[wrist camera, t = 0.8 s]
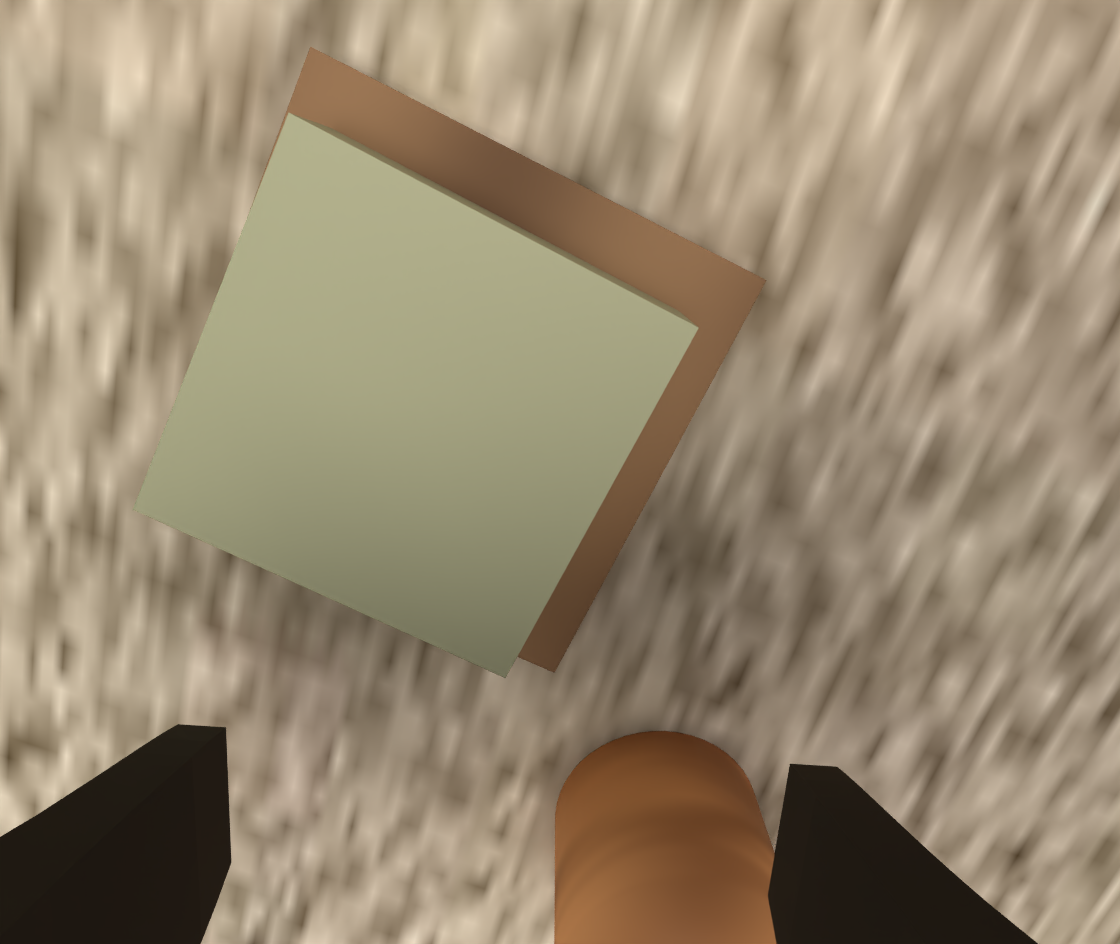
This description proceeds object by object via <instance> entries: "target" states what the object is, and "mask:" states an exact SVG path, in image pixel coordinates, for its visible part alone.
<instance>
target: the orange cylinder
mask: <svg viewBox="0 0 1120 944" xmlns="http://www.w3.org/2000/svg"><path fill="white" fill-rule="evenodd" d="M774 855H775V853H774V850H773V847H772V844H771V841H770V838H769V835H768V832H767V829H766V826H765V823H764V820H763V817H762V814H761V812H760V809H759V806H758V803H757V800H756V797H755V794H754V791H753V788H752V786H751V784H750V781H749V779H748V778H747V776H746V774H745V773H744V771H743V770H742V769H741V767H740V766H739V765H738V764H737V763H736V761H735V760H733V759H732V758H731V757H730V756H729V755H728V754H727V753H725V752H724V751H723V750H721V749H720V748H718V747H717V746H715V745H713V744H711V743H709V742H707V741H705V740H703V739H700V738H697V737H695V736H692V735H687V734H683V733H678V732H669V731H650V732H641V733H636V734H631V735H627V736H624V737H621V738H618V739H616V740H613V741H611V742H609V743H607V744H605V745H603V746H601V747H599V748H598V749H596V750H595V751H593V752H592V753H590V754H589V755H588V756H587V757H586V758H584V759H583V760H582V761H581V762H580V763H579V764H578V765H577V766H576V768H575V769H574V770H573V771H572V772H571V774H570V775H569V777H568V778H567V780H566V781H565V783H564V785H563V788H562V790H561V792H560V795H559V798H558V801H557V806H556V813H555V941H554V944H777V943H776V939H775V933H774V928H773V922H772V917H771V911H770V906H769V900H768V890H769V884H770V878H771V873H772V867H773V861H774Z"/></svg>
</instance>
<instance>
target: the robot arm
mask: <svg viewBox="0 0 1120 944" xmlns="http://www.w3.org/2000/svg"><path fill="white" fill-rule="evenodd" d="M230 865H231V842H230V818H229V793H228V768H227V743H226V727H210V726H195V725H179V724H178V725H176V726H174V727H173V728H171V729H169V730H167V731H166V732H164V733H162V734H161V735H159V736H157V737H156V738H154V739H153V740H151V741H150V742H148V743H147V744H145V745H143V746H142V747H140V748H139V749H137V750H136V751H134V752H133V753H131V754H130V755H128V756H127V757H125V758H124V759H122V760H121V761H119V762H118V763H116V764H115V765H113V766H112V767H110V768H109V769H107V770H106V771H104V772H103V773H101V774H100V775H98V776H97V777H95V778H93V779H92V780H90V781H89V782H87V783H86V784H84V785H83V786H81V787H80V788H78V789H76V790H75V791H73V792H72V793H70V794H69V795H67V796H66V797H64V798H63V799H61V800H59V801H58V802H56V803H55V804H53V805H52V806H50V807H49V808H47V809H46V810H44V811H42V812H41V813H39V814H38V815H36V816H35V817H33V818H31V819H30V820H28V821H26V822H24V823H23V824H21V825H19V826H18V827H16V828H14V829H13V830H11V831H9V832H8V833H6V834H4V835H3V836H1V837H0V944H200V943H201V941H202V939H203V936H204V934H205V931H206V929H207V926H208V924H209V921H210V919H211V916H212V913H213V911H214V908H215V906H216V903H217V900H218V898H219V895H220V892H221V889H222V887H223V884H224V881H225V878H226V876H227V873H228V870H229V867H230ZM768 900H769V906H770V911H771V917H772V922H773V928H774V933H775V939H776V943H777V944H1038V943H1036V942H1035V941H1034V940H1033V939H1031V938H1030V937H1029V936H1028V935H1027V934H1025V933H1024V932H1023V931H1022V930H1020V929H1019V928H1018V927H1017V926H1015V925H1014V924H1013V923H1012V922H1011V921H1009V920H1008V919H1007V918H1006V917H1004V916H1003V915H1002V914H1001V913H1000V912H998V911H997V910H996V909H995V908H993V907H992V906H991V905H990V904H988V903H987V902H986V901H985V900H984V899H983V898H982V897H980V896H979V895H978V894H977V893H976V892H975V891H973V890H972V889H971V888H970V887H969V886H968V885H966V884H965V883H964V882H963V881H962V880H961V879H960V878H958V877H957V876H956V875H955V874H954V873H953V872H952V871H950V870H949V869H948V868H947V867H946V866H945V865H944V864H943V863H942V862H940V861H939V860H938V859H937V858H936V857H935V856H934V855H933V854H932V853H930V852H929V851H928V850H927V849H926V848H925V847H924V846H923V845H922V844H921V843H920V842H919V841H917V840H916V839H915V838H914V837H913V836H912V835H911V834H910V833H909V832H908V831H907V830H906V829H905V828H903V827H902V826H901V825H900V824H899V823H898V822H897V821H896V820H895V819H894V818H893V817H892V816H891V815H890V814H888V813H887V812H886V811H885V810H884V809H883V808H882V807H881V806H880V805H879V804H878V803H877V802H876V801H875V800H874V799H873V798H871V797H870V796H869V795H868V794H867V793H866V792H865V791H864V790H863V789H862V788H861V787H860V786H859V785H857V784H856V783H855V782H854V781H853V780H852V779H851V778H850V777H849V776H847V775H846V774H845V773H844V772H843V771H842V770H840V769H839V768H838V767H832V766H816V765H801V764H790V767H789V773H788V779H787V784H786V790H785V796H784V802H783V808H782V814H781V820H780V826H779V831H778V837H777V843H776V849H775V855H774V861H773V867H772V873H771V878H770V884H769V890H768Z"/></svg>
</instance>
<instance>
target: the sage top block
mask: <svg viewBox="0 0 1120 944" xmlns="http://www.w3.org/2000/svg"><path fill="white" fill-rule="evenodd" d="M697 330H698V327H697V326H696V325H695V324H694V323H693V322H691V321H690V320H689V319H688V318H687V317H685V316H684V315H683V314H682V313H681V312H680V311H678V310H676V309H674V308H672V307H671V306H669V305H667V304H665V303H663V302H661V301H659V300H657V299H655V298H653V297H652V296H650V295H648V294H646V293H644V292H642V291H640V290H638V289H636V288H634V287H633V286H631V285H629V284H627V283H625V282H623V281H621V280H619V279H617V278H615V277H613V276H612V275H610V274H608V273H606V272H604V271H602V270H600V269H598V268H596V267H594V266H593V265H591V264H589V263H587V262H585V261H583V260H581V259H579V258H577V257H575V256H574V255H572V254H570V253H568V252H566V251H564V250H562V249H560V248H558V247H556V246H555V245H553V244H551V243H549V242H547V241H545V240H543V239H541V238H539V237H537V236H536V235H534V234H532V233H530V232H528V231H526V230H524V229H522V228H520V227H518V226H517V225H515V224H513V223H511V222H509V221H507V220H505V219H503V218H501V217H499V216H498V215H496V214H494V213H492V212H490V211H488V210H486V209H484V208H482V207H480V206H479V205H477V204H475V203H473V202H471V201H469V200H467V199H465V198H463V197H461V196H459V195H458V194H456V193H454V192H452V191H450V190H448V189H446V188H444V187H442V186H440V185H439V184H437V183H435V182H433V181H431V180H429V179H427V178H425V177H423V176H421V175H420V174H418V173H416V172H414V171H412V170H410V169H408V168H406V167H404V166H402V165H401V164H399V163H397V162H395V161H393V160H391V159H389V158H387V157H385V156H383V155H382V154H380V153H378V152H376V151H374V150H372V149H370V148H368V147H366V146H364V145H363V144H361V143H359V142H357V141H355V140H353V139H351V138H349V137H347V136H345V135H344V134H342V133H340V132H338V131H336V130H334V129H332V128H330V127H327V126H324V125H322V124H319V123H316V122H313V121H311V120H308V119H305V118H302V117H300V116H297V115H294V114H291V113H288V115H287V118H286V120H285V123H284V126H283V128H282V131H281V133H280V136H279V138H278V141H277V143H276V146H275V148H274V151H273V154H272V156H271V159H270V161H269V164H268V166H267V169H266V171H265V174H264V176H263V179H262V182H261V184H260V187H259V189H258V192H257V194H256V197H255V199H254V202H253V205H252V207H251V210H250V212H249V215H248V217H247V220H246V222H245V225H244V227H243V230H242V233H241V235H240V238H239V240H238V243H237V245H236V248H235V250H234V253H233V255H232V258H231V261H230V263H229V266H228V268H227V271H226V273H225V276H224V278H223V281H222V284H221V286H220V289H219V291H218V294H217V296H216V299H215V301H214V304H213V306H212V309H211V312H210V314H209V317H208V319H207V322H206V324H205V327H204V329H203V332H202V334H201V337H200V340H199V342H198V345H197V347H196V350H195V352H194V355H193V357H192V360H191V363H190V365H189V368H188V370H187V373H186V375H185V378H184V380H183V383H182V385H181V388H180V391H179V393H178V396H177V398H176V401H175V403H174V406H173V408H172V411H171V413H170V416H169V419H168V421H167V424H166V426H165V429H164V431H163V434H162V436H161V439H160V441H159V444H158V447H157V449H156V452H155V454H154V457H153V459H152V462H151V464H150V467H149V470H148V472H147V475H146V477H145V480H144V482H143V485H142V487H141V490H140V492H139V495H138V498H137V500H136V503H135V505H134V508H133V510H135V511H137V512H139V513H141V514H144V515H146V516H148V517H150V518H152V519H155V520H157V521H159V522H161V523H164V524H166V525H168V526H170V527H172V528H175V529H177V530H179V531H181V532H183V533H186V534H188V535H190V536H192V537H194V538H197V539H199V540H201V541H203V542H206V543H208V544H210V545H212V546H214V547H217V548H219V549H221V550H223V551H225V552H228V553H230V554H232V555H234V556H236V557H239V558H241V559H243V560H245V561H248V562H250V563H252V564H254V565H256V566H259V567H261V568H263V569H265V570H267V571H270V572H272V573H274V574H276V575H278V576H281V577H283V578H285V579H287V580H290V581H292V582H294V583H296V584H298V585H301V586H303V587H305V588H307V589H309V590H312V591H314V592H316V593H318V594H320V595H323V596H325V597H327V598H329V599H332V600H334V601H336V602H338V603H340V604H343V605H345V606H347V607H349V608H351V609H354V610H356V611H358V612H360V613H362V614H365V615H367V616H369V617H371V618H374V619H376V620H378V621H380V622H382V623H385V624H387V625H389V626H391V627H393V628H396V629H398V630H400V631H402V632H404V633H407V634H409V635H411V636H413V637H416V638H418V639H420V640H422V641H424V642H427V643H429V644H431V645H433V646H435V647H438V648H440V649H442V650H444V651H446V652H449V653H451V654H453V655H455V656H458V657H460V658H462V659H464V660H466V661H469V662H471V663H473V664H475V665H477V666H480V667H482V668H484V669H486V670H488V671H491V672H493V673H495V674H497V675H500V676H502V677H504V678H506V676H507V674H508V673H509V671H510V669H511V667H512V665H513V663H514V662H515V660H516V658H517V656H518V654H519V653H520V651H521V649H522V647H523V645H524V644H525V642H526V640H527V638H528V636H529V634H530V633H531V631H532V629H533V627H534V625H535V624H536V622H537V620H538V618H539V616H540V615H541V613H542V611H543V609H544V607H545V605H546V604H547V602H548V600H549V598H550V596H551V595H552V593H553V591H554V589H555V587H556V586H557V584H558V582H559V580H560V578H561V577H562V575H563V573H564V571H565V569H566V567H567V566H568V564H569V562H570V560H571V558H572V557H573V555H574V553H575V551H576V549H577V548H578V546H579V544H580V542H581V540H582V538H583V537H584V535H585V533H586V531H587V529H588V528H589V526H590V524H591V522H592V520H593V519H594V517H595V515H596V513H597V511H598V509H599V508H600V506H601V504H602V502H603V500H604V499H605V497H606V495H607V493H608V491H609V490H610V488H611V486H612V484H613V482H614V480H615V479H616V477H617V475H618V473H619V471H620V470H621V468H622V466H623V464H624V462H625V461H626V459H627V457H628V455H629V453H630V452H631V450H632V448H633V446H634V444H635V442H636V441H637V439H638V437H639V435H640V433H641V432H642V430H643V428H644V426H645V424H646V423H647V421H648V419H649V417H650V415H651V413H652V412H653V410H654V408H655V406H656V404H657V403H658V401H659V399H660V397H661V395H662V394H663V392H664V390H665V388H666V386H667V384H668V383H669V381H670V379H671V377H672V375H673V374H674V372H675V370H676V368H677V366H678V365H679V363H680V361H681V359H682V357H683V355H684V354H685V352H686V350H687V348H688V346H689V345H690V343H691V341H692V339H693V337H694V336H695V334H696V332H697Z"/></svg>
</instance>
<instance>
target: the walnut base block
mask: <svg viewBox="0 0 1120 944" xmlns="http://www.w3.org/2000/svg"><path fill="white" fill-rule="evenodd" d="M288 113H291V114H294V115H297V116H300V117H302V118H305V119H308V120H311V121H313V122H316V123H319V124H322V125H324V126H327V127H330V128H332V129H334V130H336V131H338V132H340V133H342V134H344V135H345V136H347V137H349V138H351V139H353V140H355V141H357V142H359V143H361V144H363V145H364V146H366V147H368V148H370V149H372V150H374V151H376V152H378V153H380V154H382V155H383V156H385V157H387V158H389V159H391V160H393V161H395V162H397V163H399V164H401V165H402V166H404V167H406V168H408V169H410V170H412V171H414V172H416V173H418V174H420V175H421V176H423V177H425V178H427V179H429V180H431V181H433V182H435V183H437V184H439V185H440V186H442V187H444V188H446V189H448V190H450V191H452V192H454V193H456V194H458V195H459V196H461V197H463V198H465V199H467V200H469V201H471V202H473V203H475V204H477V205H479V206H480V207H482V208H484V209H486V210H488V211H490V212H492V213H494V214H496V215H498V216H499V217H501V218H503V219H505V220H507V221H509V222H511V223H513V224H515V225H517V226H518V227H520V228H522V229H524V230H526V231H528V232H530V233H532V234H534V235H536V236H537V237H539V238H541V239H543V240H545V241H547V242H549V243H551V244H553V245H555V246H556V247H558V248H560V249H562V250H564V251H566V252H568V253H570V254H572V255H574V256H575V257H577V258H579V259H581V260H583V261H585V262H587V263H589V264H591V265H593V266H594V267H596V268H598V269H600V270H602V271H604V272H606V273H608V274H610V275H612V276H613V277H615V278H617V279H619V280H621V281H623V282H625V283H627V284H629V285H631V286H633V287H634V288H636V289H638V290H640V291H642V292H644V293H646V294H648V295H650V296H652V297H653V298H655V299H657V300H659V301H661V302H663V303H665V304H667V305H669V306H671V307H672V308H674V309H676V310H678V311H680V312H681V313H682V314H683V315H684V316H685V317H687V318H688V319H689V320H690V321H691V322H693V323H694V324H695V325H696V326H697V327H698V330H697V332H696V334H695V336H694V337H693V339H692V341H691V343H690V345H689V346H688V348H687V350H686V352H685V354H684V355H683V357H682V359H681V361H680V363H679V365H678V366H677V368H676V370H675V372H674V374H673V375H672V377H671V379H670V381H669V383H668V384H667V386H666V388H665V390H664V392H663V394H662V395H661V397H660V399H659V401H658V403H657V404H656V406H655V408H654V410H653V412H652V413H651V415H650V417H649V419H648V421H647V423H646V424H645V426H644V428H643V430H642V432H641V433H640V435H639V437H638V439H637V441H636V442H635V444H634V446H633V448H632V450H631V452H630V453H629V455H628V457H627V459H626V461H625V462H624V464H623V466H622V468H621V470H620V471H619V473H618V475H617V477H616V479H615V480H614V482H613V484H612V486H611V488H610V490H609V491H608V493H607V495H606V497H605V499H604V500H603V502H602V504H601V506H600V508H599V509H598V511H597V513H596V515H595V517H594V519H593V520H592V522H591V524H590V526H589V528H588V529H587V531H586V533H585V535H584V537H583V538H582V540H581V542H580V544H579V546H578V548H577V549H576V551H575V553H574V555H573V557H572V558H571V560H570V562H569V564H568V566H567V567H566V569H565V571H564V573H563V575H562V577H561V578H560V580H559V582H558V584H557V586H556V587H555V589H554V591H553V593H552V595H551V596H550V598H549V600H548V602H547V604H546V605H545V607H544V609H543V611H542V613H541V615H540V616H539V618H538V620H537V622H536V624H535V625H534V627H533V629H532V631H531V633H530V634H529V636H528V638H527V640H526V642H525V644H524V645H523V647H522V649H521V651H520V653H519V654H518V656H517V657H519V658H522V659H524V660H526V661H529V662H531V663H533V664H536V665H538V666H540V667H543V668H545V669H547V670H549V671H552V672H555V671H556V669H557V667H558V665H559V663H560V661H561V659H562V658H563V656H564V654H565V652H566V650H567V648H568V647H569V645H570V643H571V641H572V639H573V637H574V635H575V634H576V632H577V630H578V628H579V626H580V624H581V623H582V621H583V619H584V617H585V615H586V613H587V611H588V610H589V608H590V606H591V604H592V602H593V600H594V598H595V597H596V595H597V593H598V591H599V589H600V587H601V586H602V584H603V582H604V580H605V578H606V576H607V574H608V573H609V571H610V569H611V567H612V565H613V563H614V561H615V560H616V558H617V556H618V554H619V552H620V550H621V549H622V547H623V545H624V543H625V541H626V539H627V537H628V536H629V534H630V532H631V530H632V528H633V526H634V524H635V523H636V521H637V519H638V517H639V515H640V513H641V512H642V510H643V508H644V506H645V504H646V502H647V500H648V499H649V497H650V495H651V493H652V491H653V489H654V488H655V486H656V484H657V482H658V480H659V478H660V476H661V475H662V473H663V471H664V469H665V467H666V465H667V463H668V462H669V460H670V458H671V456H672V454H673V452H674V451H675V449H676V447H677V445H678V443H679V441H680V439H681V438H682V436H683V434H684V432H685V430H686V428H687V426H688V425H689V423H690V421H691V419H692V417H693V415H694V414H695V412H696V410H697V408H698V406H699V404H700V402H701V401H702V399H703V397H704V395H705V393H706V391H707V389H708V388H709V386H710V384H711V382H712V380H713V378H714V377H715V375H716V373H717V371H718V369H719V367H720V365H721V364H722V362H723V360H724V358H725V356H726V354H727V352H728V351H729V349H730V347H731V345H732V343H733V341H734V340H735V338H736V336H737V334H738V332H739V330H740V328H741V327H742V325H743V323H744V321H745V319H746V317H747V316H748V314H749V312H750V310H751V308H752V306H753V304H754V303H755V301H756V299H757V297H758V295H759V293H760V291H761V290H762V288H763V286H764V284H765V282H766V280H765V279H763V278H761V277H759V276H757V275H755V274H753V273H751V272H749V271H747V270H745V269H743V268H741V267H739V266H738V265H736V264H734V263H732V262H730V261H728V260H726V259H724V258H722V257H720V256H718V255H716V254H714V253H712V252H710V251H708V250H706V249H704V248H702V247H700V246H698V245H697V244H695V243H693V242H691V241H689V240H687V239H685V238H683V237H681V236H679V235H677V234H675V233H673V232H671V231H669V230H667V229H665V228H663V227H661V226H659V225H657V224H656V223H654V222H652V221H650V220H648V219H646V218H644V217H642V216H640V215H638V214H636V213H634V212H632V211H630V210H628V209H626V208H624V207H622V206H620V205H618V204H616V203H615V202H613V201H611V200H609V199H607V198H605V197H603V196H601V195H599V194H597V193H595V192H593V191H591V190H589V189H587V188H585V187H583V186H581V185H579V184H577V183H575V182H574V181H572V180H570V179H568V178H566V177H564V176H562V175H560V174H558V173H556V172H554V171H552V170H550V169H548V168H546V167H544V166H542V165H540V164H538V163H536V162H534V161H532V160H531V159H529V158H527V157H525V156H523V155H521V154H519V153H517V152H515V151H513V150H511V149H509V148H507V147H505V146H503V145H501V144H499V143H497V142H495V141H493V140H491V139H490V138H488V137H486V136H484V135H482V134H480V133H478V132H476V131H474V130H472V129H470V128H468V127H466V126H464V125H462V124H460V123H458V122H456V121H454V120H452V119H450V118H449V117H447V116H445V115H443V114H441V113H439V112H437V111H435V110H433V109H431V108H429V107H427V106H425V105H423V104H421V103H419V102H417V101H415V100H413V99H411V98H409V97H408V96H406V95H404V94H402V93H400V92H398V91H396V90H394V89H392V88H390V87H388V86H386V85H384V84H382V83H380V82H378V81H376V80H374V79H372V78H370V77H368V76H367V75H365V74H363V73H361V72H359V71H357V70H355V69H353V68H351V67H349V66H347V65H345V64H343V63H341V62H339V61H337V60H335V59H333V58H331V57H329V56H327V55H325V54H324V53H322V52H320V51H318V50H316V49H314V48H312V47H310V49H309V52H308V55H307V57H306V60H305V63H304V65H303V68H302V71H301V74H300V76H299V79H298V82H297V84H296V87H295V90H294V93H293V95H292V98H291V101H290V103H289V106H288V109H287V111H286V114H285V117H284V120H283V122H282V125H281V128H280V130H279V133H278V136H277V139H276V141H275V144H274V147H273V149H272V152H271V155H270V158H269V160H268V163H267V166H268V164H269V161H270V159H271V156H272V154H273V151H274V148H275V146H276V143H277V141H278V138H279V136H280V133H281V131H282V128H283V126H284V123H285V120H286V118H287V115H288ZM267 166H266V168H265V171H266V169H267ZM265 171H264V174H265ZM264 174H263V176H264ZM263 176H262V179H263ZM262 179H261V182H262ZM261 182H260V184H261ZM259 187H260V185H259ZM259 187H258V189H259ZM257 192H258V190H257ZM256 194H257V193H256ZM255 197H256V195H255ZM254 199H255V198H254ZM253 202H254V201H253ZM252 205H253V204H252ZM251 207H252V206H251ZM250 210H251V209H250ZM248 215H249V214H248Z"/></svg>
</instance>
